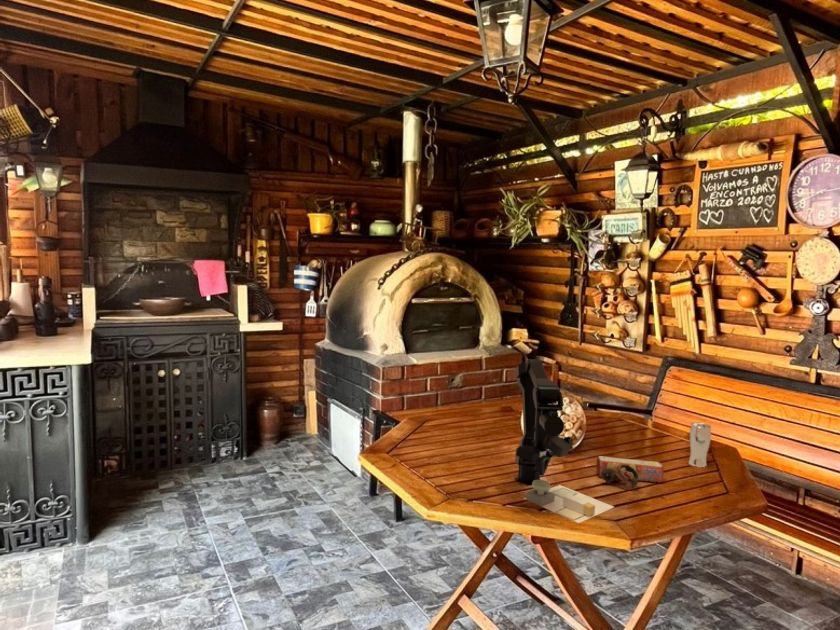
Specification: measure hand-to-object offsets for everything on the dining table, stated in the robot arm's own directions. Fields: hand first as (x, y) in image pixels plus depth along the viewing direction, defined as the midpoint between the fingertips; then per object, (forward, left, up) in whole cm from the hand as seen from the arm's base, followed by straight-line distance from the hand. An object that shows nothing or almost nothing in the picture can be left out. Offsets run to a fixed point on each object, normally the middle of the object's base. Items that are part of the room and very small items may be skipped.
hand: (541, 475), depth 177 cm
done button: (0, 0, -7) cm, 7 cm away
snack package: (+5, +41, -9) cm, 43 cm away
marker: (+11, +4, -8) cm, 14 cm away
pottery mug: (+7, +32, -9) cm, 34 cm away
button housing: (0, 0, -8) cm, 9 cm away
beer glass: (+13, +75, -9) cm, 77 cm away
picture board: (+6, +6, -8) cm, 12 cm away
